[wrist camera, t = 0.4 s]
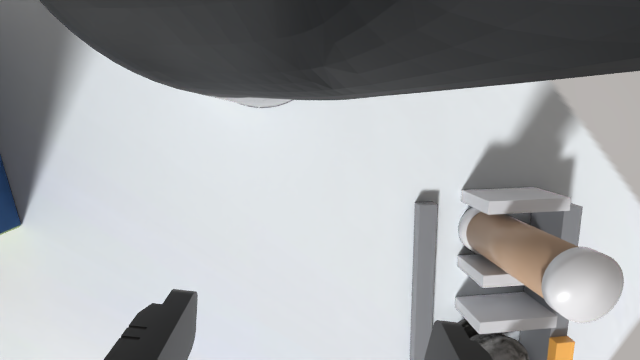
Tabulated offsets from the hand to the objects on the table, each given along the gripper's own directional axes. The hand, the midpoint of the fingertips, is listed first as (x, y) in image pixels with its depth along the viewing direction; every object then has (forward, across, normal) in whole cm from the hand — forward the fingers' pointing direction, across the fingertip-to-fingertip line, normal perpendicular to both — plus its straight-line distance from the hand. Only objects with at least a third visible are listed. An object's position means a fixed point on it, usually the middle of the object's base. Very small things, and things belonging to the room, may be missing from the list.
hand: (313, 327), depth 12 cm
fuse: (+18, -15, +2) cm, 24 cm away
